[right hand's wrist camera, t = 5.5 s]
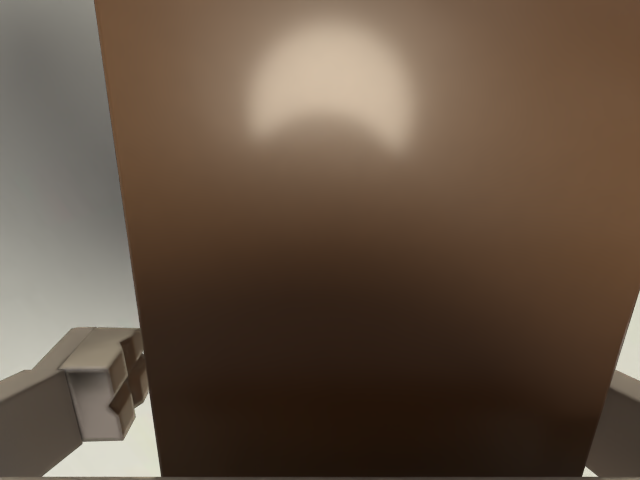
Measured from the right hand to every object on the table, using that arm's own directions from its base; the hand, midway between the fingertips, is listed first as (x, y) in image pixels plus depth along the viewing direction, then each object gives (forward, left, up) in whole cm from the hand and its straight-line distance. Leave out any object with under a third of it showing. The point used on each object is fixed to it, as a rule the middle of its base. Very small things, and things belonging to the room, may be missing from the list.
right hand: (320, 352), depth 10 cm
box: (+3, +7, -8) cm, 11 cm away
